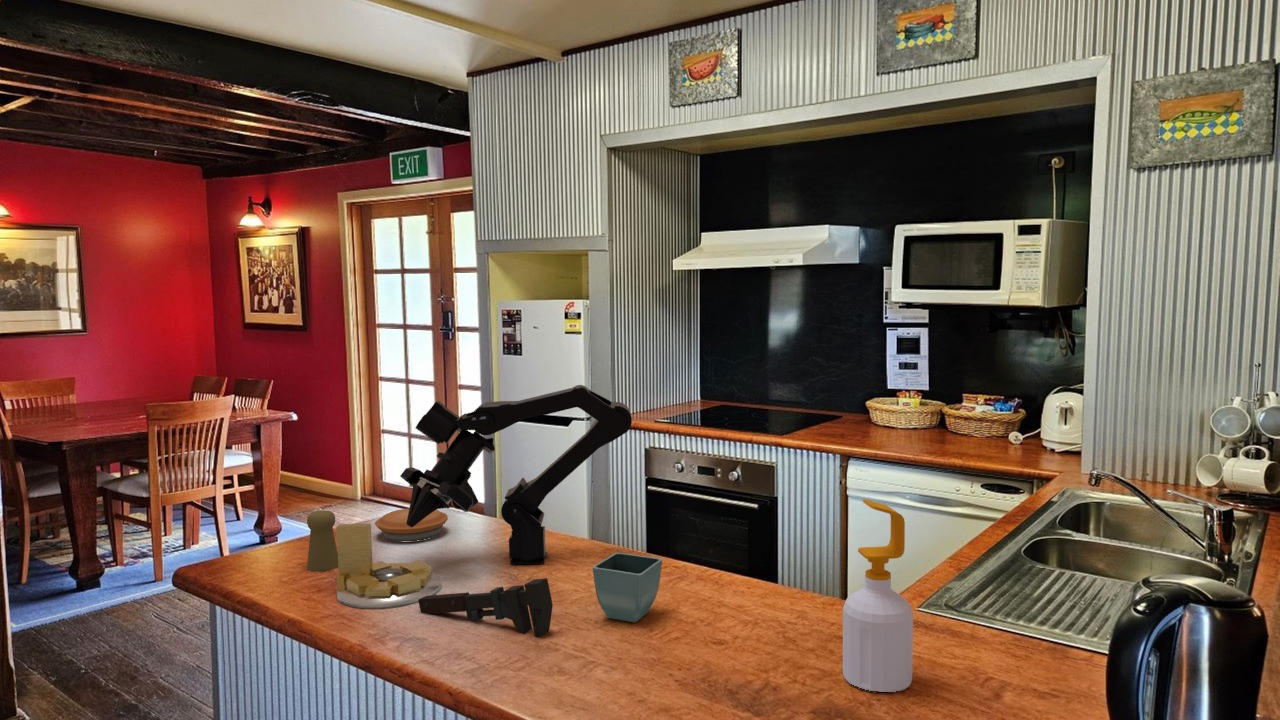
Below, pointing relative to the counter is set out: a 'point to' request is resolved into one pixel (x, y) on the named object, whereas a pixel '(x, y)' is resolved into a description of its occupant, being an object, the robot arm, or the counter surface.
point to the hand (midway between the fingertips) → (408, 525)
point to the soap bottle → (879, 620)
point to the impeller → (386, 601)
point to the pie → (400, 531)
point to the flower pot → (627, 585)
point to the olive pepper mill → (322, 542)
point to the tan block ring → (373, 565)
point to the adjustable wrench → (500, 605)
